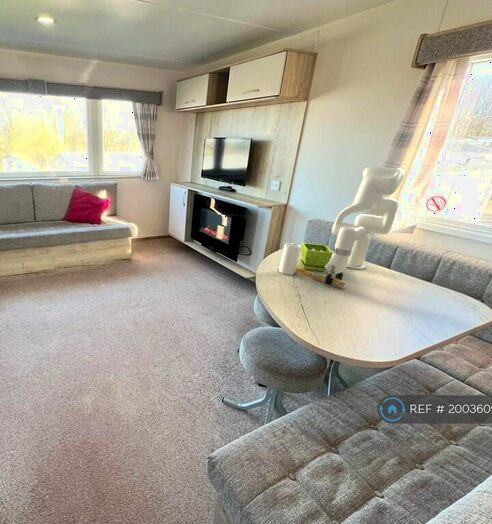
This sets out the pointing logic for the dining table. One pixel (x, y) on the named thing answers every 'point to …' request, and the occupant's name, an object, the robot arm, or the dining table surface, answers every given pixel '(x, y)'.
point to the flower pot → (315, 256)
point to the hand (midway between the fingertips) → (332, 282)
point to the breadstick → (303, 271)
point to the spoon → (335, 281)
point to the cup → (289, 258)
